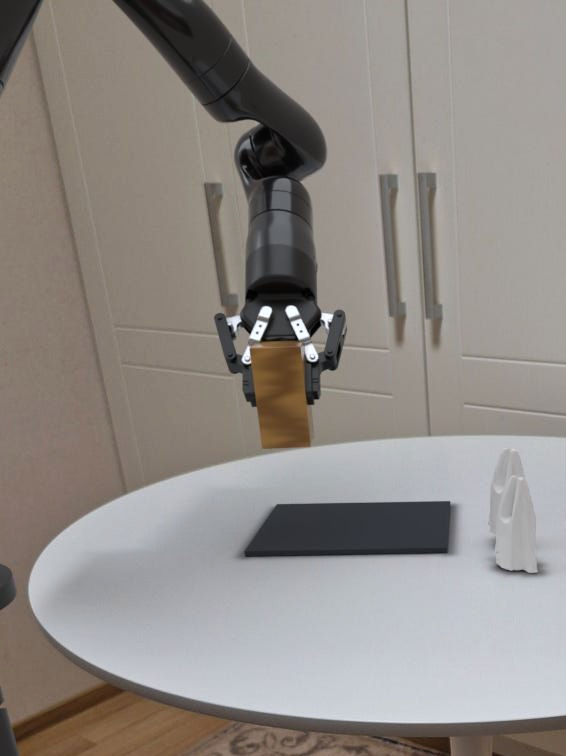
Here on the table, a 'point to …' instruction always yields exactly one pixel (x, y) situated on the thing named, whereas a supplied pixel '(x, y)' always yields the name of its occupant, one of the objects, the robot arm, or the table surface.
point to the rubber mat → (353, 529)
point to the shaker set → (512, 515)
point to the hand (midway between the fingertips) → (282, 400)
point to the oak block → (281, 394)
